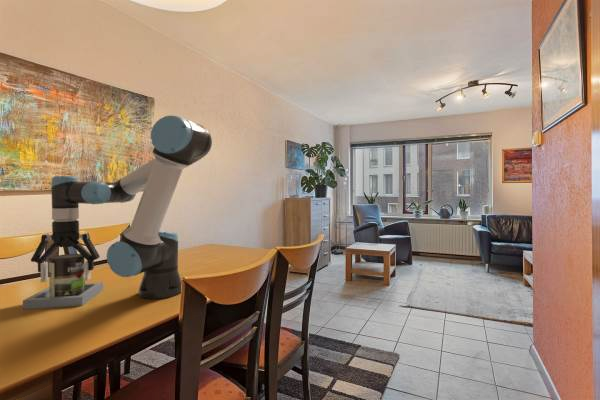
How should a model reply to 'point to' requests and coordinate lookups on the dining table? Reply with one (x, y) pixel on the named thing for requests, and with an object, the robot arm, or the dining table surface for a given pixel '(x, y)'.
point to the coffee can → (66, 275)
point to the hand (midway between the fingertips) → (66, 280)
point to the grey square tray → (62, 298)
